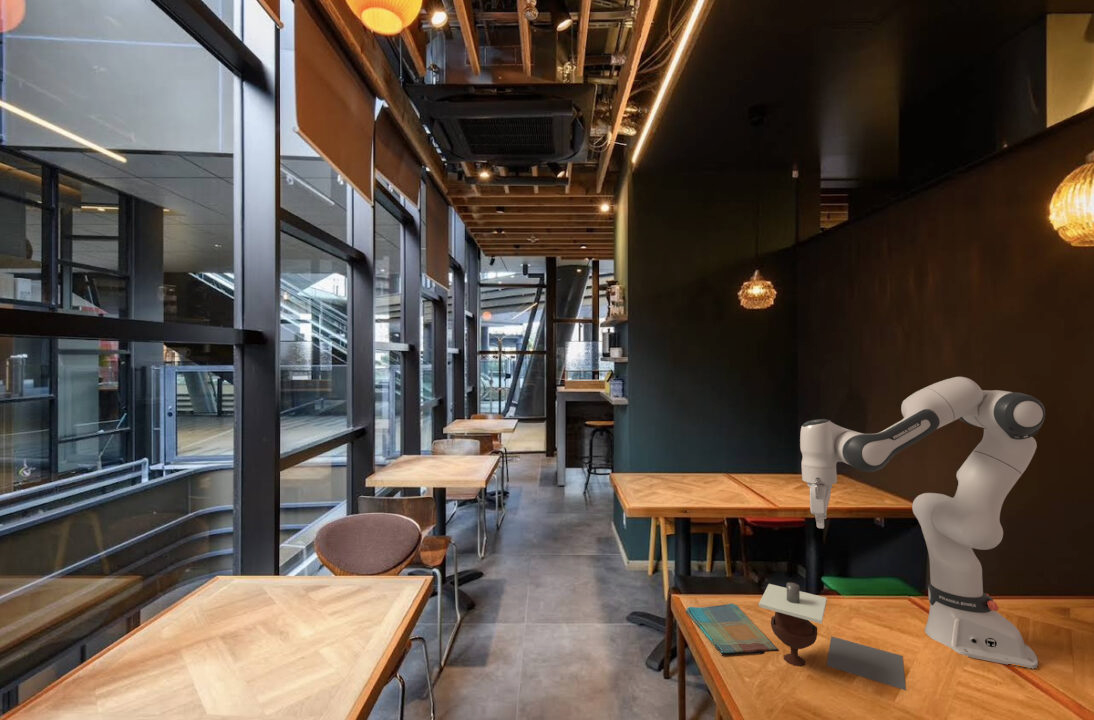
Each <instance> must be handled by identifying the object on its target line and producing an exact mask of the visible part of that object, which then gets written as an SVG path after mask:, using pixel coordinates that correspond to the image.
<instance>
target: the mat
mask: <svg viewBox="0 0 1094 720" xmlns="http://www.w3.org/2000/svg"><path fill="white" fill-rule="evenodd" d="M828 649H829V650H828V655H827V661H826V667H830V668H833V669H835V670H839V671H841V672H845V673H848V674H851V675H854V676H855V675H856V676H857V677H858V676H859V677H861V678H864V679H866V680H871V681H874V682H878V683H880V684H884V685H888V686H891V687H894V688H897V689H900V690H903V691H906V690H907V687H906V679H905V678H906V677H905V667H904V657H903V655H901V654H897V653H894V652H891V651H886V650H883V649H879V648H876V647H872V646H868V645H864V644H861V643H858V642H854V641H850V640H847V639H843V638H839V637H835V636H831V637H830V643H829V648H828Z"/></svg>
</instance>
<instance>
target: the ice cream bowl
mask: <svg viewBox="0 0 1094 720" xmlns="http://www.w3.org/2000/svg"><path fill="white" fill-rule="evenodd" d="M770 618H771V619H770V625H771V630H772V631H773V634H774V635H775V636H776V637H777V639H779V641H781V643H782V644H784V645H786V646H787V647H789V648H790V653H787V654H785V655H783V660H784V661H785V662H786V663H787V664H789V665H791V666H794V667H804V666H806V661H807V660H805V659H804V658H803V657H801V656H800V655H799V650H803V649H807V648H808V647H811V646H812V645H813V644H815V642H816V640H817V636H818V626H816V625H815V624H814V623H813V622H812V621H809V620H805V619H802V618H798V617H794V616H791V615H787V614H783V613H780V612H776V611H774V616H771V617H770Z"/></svg>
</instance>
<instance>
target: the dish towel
mask: <svg viewBox="0 0 1094 720" xmlns="http://www.w3.org/2000/svg"><path fill="white" fill-rule="evenodd" d="M685 609H686V610H685V613H686V615H687V616H688V618H689V619H691V621H692V622H693V623H694V624H695V625H696V626H697V627H698V628H699V630H700V631H701V632H702V633H703V635H704V636H705V637H706V638H707V639H708V641H709V642H710V643H711V644H713V645H714V646H715V647H714V646H713V645H712V646H713V647H714V649H715V650H716V651H717V652H718V651H719V652H720V653H721V654H722V655H721V654H720V653H719V652H718V653H719V654H720V655H721V657H722V656H725V657H734V656H738V657H739V656H746V655H747V656H749V655H750V656H751V655H753V656H754V655H763V654H765V653H766V652H771V651H776V652H778V651H779V650H780V649H779V648H778V647H777V646H776V645H775V644H774V643H773V642H772V641H771V640H770V639H769V638H768V636H766V634H765V633H763V631H762V630H761V629H760V628H759V627H758V626H757V625H756V624H755V623H754V622H753V621H752V620H751V619H750V618H749V617H748V616H747V615H746V614H745V612H744V611H742V609H741V608H740V607H739V606H738V605H737V604H735V603H727V604H721V605H720V604H719V605H712V606H704V607H703V606H702V607H701V606H699V607H698V606H697V607H696V606H695V607H694V606H688V607H686V608H685Z"/></svg>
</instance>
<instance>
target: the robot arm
mask: <svg viewBox="0 0 1094 720" xmlns="http://www.w3.org/2000/svg"><path fill="white" fill-rule="evenodd" d="M900 408H901V410H900V411H901V415H902V419H901V420H900V421H898V422H895V423H894V424H892V425H891V426H888V427H887V428H885V429H884V430H882V431H879V432H877V433H862V432H858V431H855V430H852V429H848V428H845V427H843V426H840V425H838V424H835V423H834V422H832V421H831V420H829V419H827V418H820V419H811V420H807V421H806V422H804V423H803V424H802V425H801V426H800V427H801V428H800V436H799V438H800V439H799V442H800V443H799V447H800V452H801V455H802V458H801V478H802V479H801V480H802V481H803V482H806V483H807V484H806V485H807V487H809V508H810V509H809V510H810V513H811V515H814V517H815V522H816V527H817V528H818V529H824V528H825V520H826V519H827V511H828V507H829V504H830V500H831V495H832V494H831V493H832V492H831V491H832V488H833V484H836V483H838V478H837V477H838V474H837V463H844V464H847V465H848V466H849V465H850V466H851V467H853V468H855V469H856V470H858V471H861V472H865V473H874V472H877V471H880V470H882V469H883V468H885V466H886V465H888V463H889V462H890V461H891V460H892V459H893V458H894V456H896V455H898V454H899V453H900V452H901V451H903V450H905V449H907V448H908V447H910V446H912V445H913V444H916V443H917V442H919V441H921V440H922V439H924V438H926V437H928V435H930V434H932V433H934V432H935V431H936V430H938V429H939V428H942V427H943V426H946V425H948V424H950V423H953V422H955V421H956V420H960V421H962V422H963V423H965V424H967V425H968V426H969V425H970V426H973V427H979V428H983V436H982V439H981V441H980V442H979V443H978V444H977V445H976V447H975V448H974V449H973V450H972V451H971V453H970V454H969V455H968V456H967V458H966V460H965V461H964V462H963V463H962V465H961V466H960V468H958V470H957V471H956V475H955V476H956V479H957V481H958V482H957V483H958V485H957V489H956V491H955V494H954V496H953V497H951V496H949V495H946V494H943V493H935V492H924V493H922V494H919V495H917V496H916V497H915V498H914V499H913V501H912V505H911V507H912V513H913V515H914V516H915V518H916V519H917V521H918V523H919V525H920V527H921V532H922V535H923V538H924V540H925V544H926V548H927V552H928V559H929V574H930V575H929V577H930V581H929V582H928V586H927V589H928V590H927V591H928V593H927V594H928V601H929V603H930V604H929V612H928V618H927V622H926V625H925V627H924V632H925V634H926V635H927V637H929V638H930V639H932V640H933V641H936V642H938V643H940V644H942V645H944V646H946V647H948V648H950V649H951V650H953V651H954V652H956V653H958V654H959V655H962V656H965V657H968V658H971V659H977V660H980V661H981V660H982V661H983V660H984V661H987V662H993V663H998V664H1003V665H1008V664H1015V665H1020V666H1024V667H1028V668H1027V669H1029V668H1032V669H1031V670H1035V669H1037V668H1038V667H1037V666H1039V660H1038V657H1037V655H1036V653H1035V652H1034V650H1033V649H1032V648H1031V647H1030V646H1029V645H1027V644H1026V643H1025V642H1024V639H1023V636H1022V634H1021V632H1020V631H1019V629H1018V627H1016V625H1014V623H1012V622H1011V621H1010V620H1008V619H1007V618H1006V617H1004V616H1003V615H1002V614H1001V613H999V612H997V611H998V610H999V608H1000V607H999V605H998V604H997V603H996V601H994V599H993V598H992V597H991V596H990V595H989V594H988V593H987V592H986V593H985V592H984V587H983V568H982V564H981V562H980V560H979V559H978V557H977V556H976V554H975V552H974V549H976V550H979V551H980V550H981V551H982V550H983V551H987V550H992V549H994V548H996V547H997V546H999V545H1000V543H1001V542H1002V539H1003V536H1004V530H1003V527H1002V526H1003V525H1001V521H1000V518H1001V510H1002V507H1003V504H1004V502H1005V500H1006V497H1007V496H1008V494H1009V493H1010V492H1011V491H1012V488H1014V486H1015V485H1016V484H1017V482H1018V481H1019V479H1020V478H1021V477H1022V475H1023V474H1024V472H1025V471H1026V470H1027V468H1028V467H1029V464H1030V463H1031V460H1032V459H1033V457H1034V455H1035V453H1036V450H1037V448H1038V446H1037V441H1036V439H1035V437H1034V436H1035V435H1036V434H1038V433H1039V431H1040V429H1041V427H1042V425H1043V423H1044V421H1045V418H1046V417H1045V416H1046V410H1045V406H1044V404H1043V403H1042V401H1040V400H1039V399H1038V398H1036V397H1034V396H1033V395H1029V394H1026V393H1023V392H1014V391H1013V392H1012V391H1008V390H1007V391H1006V390H1000V389H999V390H998V389H995V390H993V389H992V390H985V389H984V390H983V389H982V388H981V387H980V386H979V385H978V383H976V382H975V380H972V379H971V378H968V377H964V376H955V377H951V378H946V379H943V380H940V381H938V382H937V381H936V382H935V383H932V384H930V385H928V386H926V387H923V388H921V389H919V390H917V391H915V392H913V393H912V394H911V395H909V396H907V397H906V398H905V399H904V400H903V401H902V403H901V407H900ZM1034 668H1035V669H1034Z"/></svg>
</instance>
